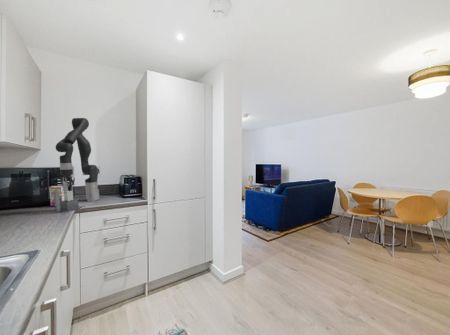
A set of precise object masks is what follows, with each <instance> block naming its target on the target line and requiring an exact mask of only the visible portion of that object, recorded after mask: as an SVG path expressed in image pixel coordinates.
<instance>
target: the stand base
mask: <svg viewBox="0 0 450 335" xmlns="http://www.w3.org/2000/svg"><path fill="white" fill-rule="evenodd" d="M82 207H85V208H86V206H85V205H84V206H83V205H79V199H74V198H73V200H72V201H60V212H59V213H63V212H64V213H65V214H66V212H67V213H70V212H69V211H71V212H74V211H79V210H81V209H80V208H82ZM82 209H83V208H82ZM73 210H74V211H73ZM53 212H56V210H55V209H53ZM64 213H63V214H64Z"/></svg>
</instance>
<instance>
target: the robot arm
mask: <svg viewBox="0 0 450 335" xmlns="http://www.w3.org/2000/svg"><path fill="white" fill-rule="evenodd" d="M89 125H90V122H89V120H88V118H85V117H75V118H74V117H73V118H72V119H71V127H72V130H71V131H69V132H68V133H67V134H66V135H65V137H64V138H62V139H61V140H60V141H58V142H57V143H56V144H55V150H56V151H57V152H59V153H64V154H62V155H60V156H59V170H60V171H59V173H60V174H59V175H61V176H62V177H60V178H59V180H60V183H61V186H63V182H62V181H67V183H68V191H72V188H73V186H74V185H75V177H73V176H72V175H73V174H74V170H73V169H74V168H73V164H72V156H73V152H74V144H75V142H76V144H77V149H78V152H79V157H80V164H81V165H80V166H81V172H82V174H83V175H86V176H88V175H89V177H88V178H86V179H84V184H85V185H84V186H85V197H86V198H85V199H86V200H85V201H86V202H94V201H99V200H100V189H99V188H98V178H99V176H98V174H99V173H98V172H99V171H98V166H97V165H96V164H90V162H89V157H90V155H91V154H92V146H91V143H90V142H89V140H88V139H87V138H86V137H85V135H83V133H84V132H85V131H86V130H87V129H88V128H89ZM69 181H70V182H69ZM69 183H70V184H69Z"/></svg>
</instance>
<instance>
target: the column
mask: <svg viewBox="0 0 450 335" xmlns="http://www.w3.org/2000/svg"><path fill="white" fill-rule="evenodd" d="M62 182H63V185H62V186H63V189H64V190H63V191H64V192H63V193H64V201H72V200H73V199H74V191H73V187H72V191H68V183H67V181H62ZM69 182H70V181H69ZM69 184H70V183H69Z"/></svg>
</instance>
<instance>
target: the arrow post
mask: <svg viewBox="0 0 450 335" xmlns="http://www.w3.org/2000/svg"><path fill="white" fill-rule="evenodd" d="M61 194H62V192H61V193H59V191H54V199H55V206H54V210H56V211H55V213H56V214H58V213H61V212H60V200H59V195H61Z"/></svg>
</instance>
